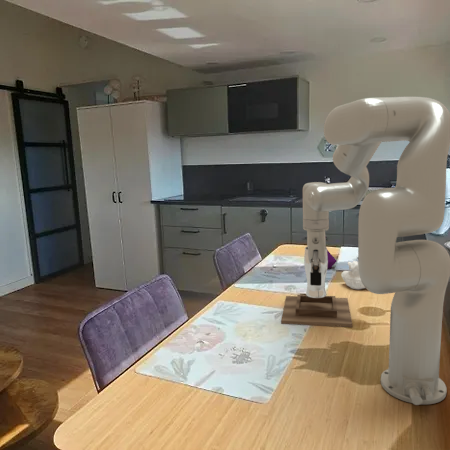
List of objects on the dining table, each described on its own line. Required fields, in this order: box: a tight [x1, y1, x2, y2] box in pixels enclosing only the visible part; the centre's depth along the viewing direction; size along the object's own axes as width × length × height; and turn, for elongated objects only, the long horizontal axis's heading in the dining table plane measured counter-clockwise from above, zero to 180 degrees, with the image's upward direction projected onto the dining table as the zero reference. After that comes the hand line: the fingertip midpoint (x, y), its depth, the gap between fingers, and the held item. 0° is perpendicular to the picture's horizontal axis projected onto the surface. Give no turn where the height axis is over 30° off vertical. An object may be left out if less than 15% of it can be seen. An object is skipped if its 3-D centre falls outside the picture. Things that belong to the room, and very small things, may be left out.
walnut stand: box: [280, 294, 353, 328], centre depth 126 cm, size 20×20×3 cm
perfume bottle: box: [325, 229, 337, 270], centre depth 169 cm, size 8×8×18 cm
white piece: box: [303, 246, 328, 299], centre depth 124 cm, size 7×7×15 cm
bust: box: [340, 260, 366, 290], centre depth 144 cm, size 12×8×11 cm
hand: (315, 280), depth 125 cm, fingers closed on white piece, 6 cm apart
